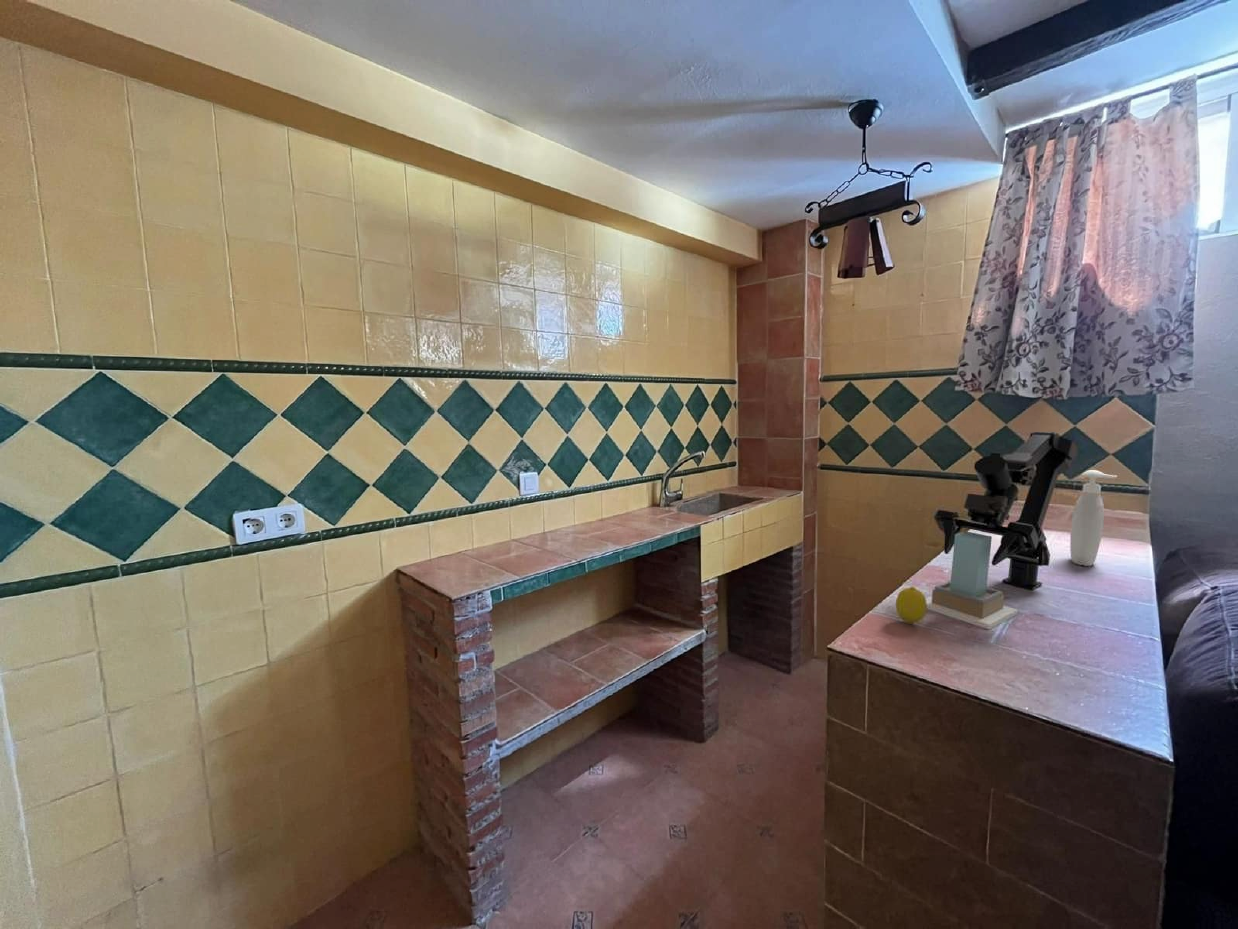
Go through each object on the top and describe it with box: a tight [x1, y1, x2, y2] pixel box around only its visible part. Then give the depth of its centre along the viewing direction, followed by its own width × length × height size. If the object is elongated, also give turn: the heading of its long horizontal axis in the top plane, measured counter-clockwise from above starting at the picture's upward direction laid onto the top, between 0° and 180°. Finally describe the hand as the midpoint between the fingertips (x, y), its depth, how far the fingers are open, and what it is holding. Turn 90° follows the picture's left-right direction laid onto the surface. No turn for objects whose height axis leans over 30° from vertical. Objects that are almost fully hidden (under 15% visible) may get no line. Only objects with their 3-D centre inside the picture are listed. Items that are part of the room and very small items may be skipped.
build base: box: [925, 580, 1018, 630], centre depth 111 cm, size 14×14×5 cm
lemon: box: [895, 586, 928, 625], centre depth 104 cm, size 6×6×8 cm
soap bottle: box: [1069, 469, 1118, 567], centre depth 143 cm, size 14×8×27 cm, turn 139°
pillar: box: [950, 531, 992, 598], centre depth 110 cm, size 5×5×13 cm
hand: (968, 558), depth 109 cm, fingers open, 9 cm apart
